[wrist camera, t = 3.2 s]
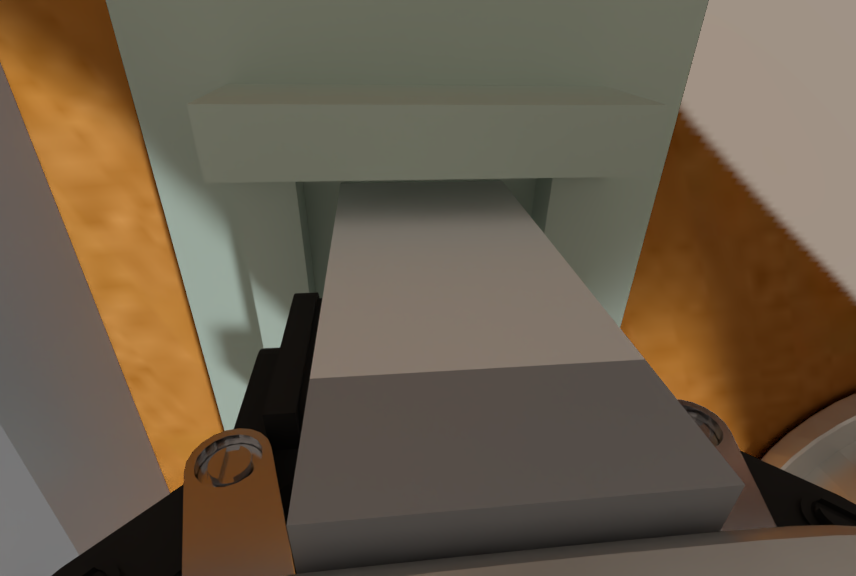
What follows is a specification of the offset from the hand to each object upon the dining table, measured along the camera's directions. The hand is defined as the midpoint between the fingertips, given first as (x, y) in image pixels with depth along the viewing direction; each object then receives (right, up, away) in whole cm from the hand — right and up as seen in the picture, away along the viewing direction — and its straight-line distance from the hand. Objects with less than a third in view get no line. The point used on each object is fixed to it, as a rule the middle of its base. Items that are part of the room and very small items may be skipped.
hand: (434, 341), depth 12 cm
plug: (0, +2, +3) cm, 3 cm away
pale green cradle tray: (0, +2, +3) cm, 4 cm away
